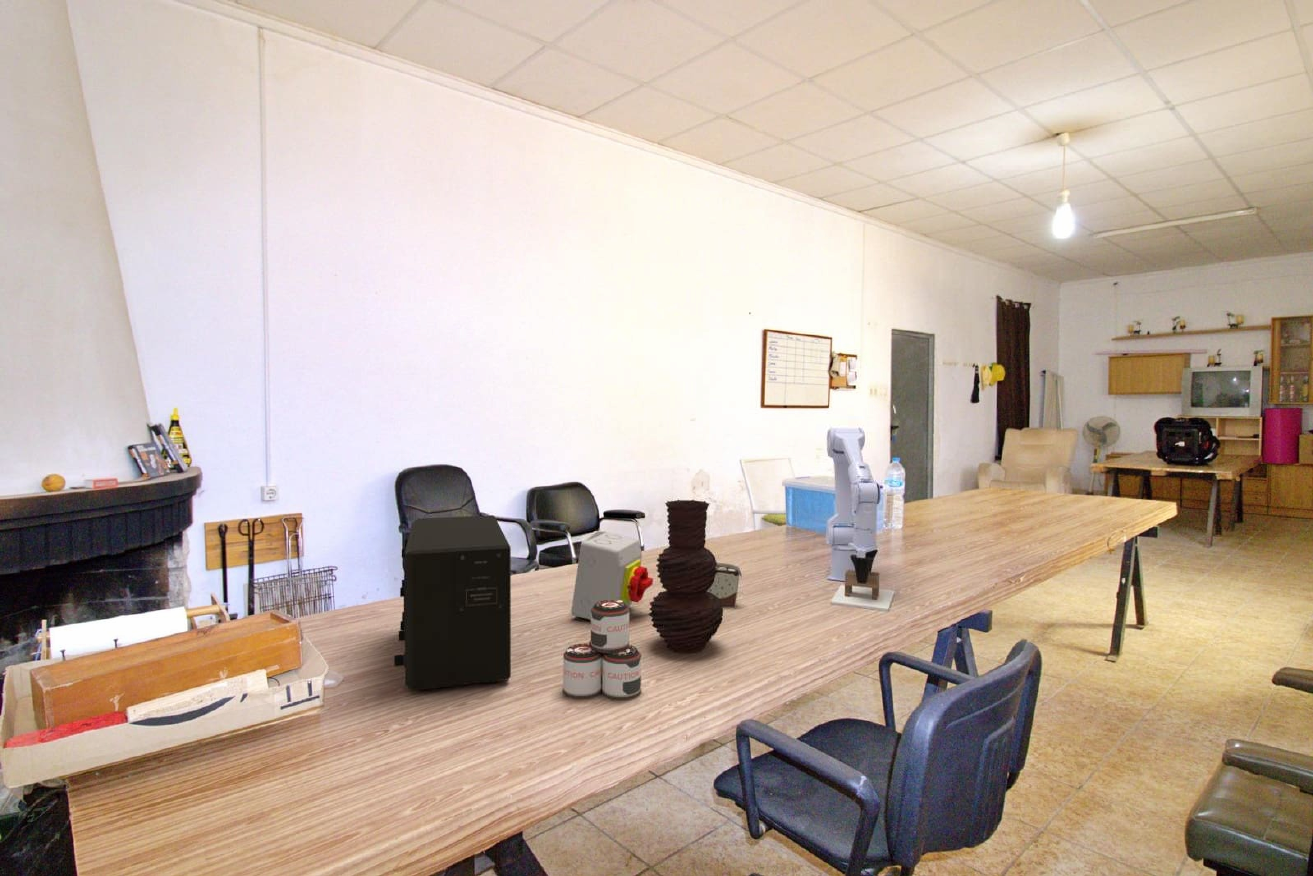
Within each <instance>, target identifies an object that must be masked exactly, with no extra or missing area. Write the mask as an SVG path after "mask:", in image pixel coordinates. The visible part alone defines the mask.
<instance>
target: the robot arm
mask: <svg viewBox="0 0 1313 876" xmlns="http://www.w3.org/2000/svg"><path fill="white" fill-rule="evenodd" d="M865 442H866V435H865V431H864V429H863V428H861V427H859V428H857V427H856V428H855V427H854V428H849V427H848V428H847V427H843V428H842V427H840V428H839V427H838V428H836V427H835V428H834V427H830V428H829V429H828V430H827V435H826V453H827V456H828V457H830V458H831V459H832V460H833V467H834V495H835V497H834V499H835V500H834V501H835V503H834V504H835V514H834V515H833V516H831V517H830V518H828V519H827V521H826V529H825V542H826V545H827V546H828V547H830V573H829V575H828V576H827V577H826V578H827V580H833V581H842V582H845V573H846V572H847V570H855V572H856V578H857V582H858V583H862V584H866V582H867V579H868V573H869V572H872V568H873V565H874V564H873V563H874V560H875V558H876V556H877V554H878V545H877V521H878V517H877V516H878V505H879V504H880V503H881V499H882V497H881V496H882V492H881V486H880V483H879V481H877V480H875V479H874V478H873V475H872V473H871V468H870V466H869V464H868V463H866V462H864V459H863V454H862V451H863V449H864V446H865Z"/></svg>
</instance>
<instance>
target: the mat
mask: <svg viewBox="0 0 1313 876" xmlns="http://www.w3.org/2000/svg"><path fill="white" fill-rule="evenodd" d="M895 593H896V591H895V590H890V589H889V590H888V589H883V588H882V589H881V588H879V596H877V600H872V588H867V587H858V586H852V593H850V597H846V596H845V584H841V585H840V586H839V588H838V589H837V591H836V592H835V594H834V595H833V597H832V598H831V600H830V602H829V603H830V605H836V606H845V607H852V608H860V609H869V610H875V611H885V612H889V610H890V607H891V605H892V601H893V598H894V596H895Z"/></svg>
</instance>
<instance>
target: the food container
mask: <svg viewBox="0 0 1313 876" xmlns="http://www.w3.org/2000/svg"><path fill="white" fill-rule="evenodd" d="M740 569H741V568H740V567H739V566H738V565H734V564H730V563H724V562H717V566H716V576H715V578H714V583H713V585H712V586H711V587H710V589H709V590H707V591H708V592H710V593H712V594H714V595H716V596H717V597H718V598H719V600H720V601H721V605H722V608H723V609H730V608H733V609H734V610H735V609H736V607H737V600H738V599H737V598H738V589H739V580H740V577H741V578H742V577H743V576H742V575H743V574H742V571H741V570H740ZM733 609H732V610H733Z"/></svg>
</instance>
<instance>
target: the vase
mask: <svg viewBox="0 0 1313 876" xmlns="http://www.w3.org/2000/svg"><path fill="white" fill-rule="evenodd" d="M664 505H665V506H666V507H667V508H666V512H667V513H668V514H667V516H666V517H667V520H666V522H667V523H668V524H669V525H668V526H667V529H668V530H667V533H668V536H667V540H668V547H665V548H664V549H663V550H662V553H659V554H658V558H656V561H657V562H658V563H657V564H655V566H656V568H657V569H656V571H657V573H659V574H657V576H656V577H657V578H658V579H660V580H659V583H661V584H662V585H661V588H662V589H664V590H665V591H664V590H663V591H660V592H658V593H657V595H656V596H653V598H652V599H653V600H652V601H650V602H649V605H650V607H649V608H648V609H649V611H650V612H649V613H648V616H649V617H651V619H650V621H651V622H652V623H653V624H651V626H652V627H653V628H654V629H656V630H655V631H656V632H657V634H659V638H662V640H663V643H664V644H666V647H665V648H667V649H669V650H670V651H673V652H674V653H684V654H691V653H697V651H698V652H701V651H702V650H703V649H704V648H706V647H705V646H707V644H708V642H710V640H711V639H712V637H713V636H715V634H717V632H718V629H719V627H720V626H721V624H722V623H723V619H724V618H723V616H724V608H722V605H721V601H720V600H719V598H718V597H717V596H716V595H714V594H712V593H710V592H708V591H707V590H709V589H710V587H711V586H712V585H713V583H714V578H715V576H716V566H717V563H718V562H717V560H716V557H715V555H714V554H713V552H712V551H711V550H710V549H708V548H706V546H705V545H706V542H707V541H706V538H707V534H706V528H707V521H708V512H707V511H708V508H709V506H710V502H709V503H708V502H706V501H705V500H704V501H703V500H695V499H691V500H690V499H689V500H687V499H684V500H683V499H677V500H670V501H669V500H667V501H666V502H665V503H664Z"/></svg>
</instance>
